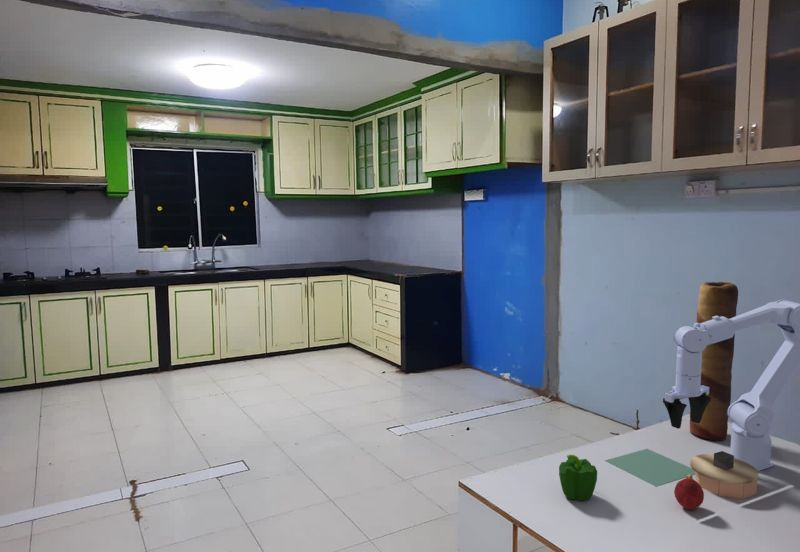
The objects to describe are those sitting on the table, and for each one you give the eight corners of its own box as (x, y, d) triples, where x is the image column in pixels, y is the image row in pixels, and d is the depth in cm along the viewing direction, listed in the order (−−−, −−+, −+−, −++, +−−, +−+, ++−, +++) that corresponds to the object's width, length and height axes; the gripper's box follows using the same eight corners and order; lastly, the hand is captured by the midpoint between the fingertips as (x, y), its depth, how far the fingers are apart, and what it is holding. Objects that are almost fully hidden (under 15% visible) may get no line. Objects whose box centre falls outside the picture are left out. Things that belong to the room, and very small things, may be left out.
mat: (647, 450, 155) (647, 448, 155) (700, 473, 141) (700, 472, 141) (604, 462, 148) (604, 460, 148) (656, 488, 134) (656, 486, 134)
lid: (714, 453, 144) (715, 438, 143) (771, 475, 131) (772, 459, 131) (677, 464, 138) (678, 449, 137) (732, 489, 125) (733, 472, 125)
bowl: (717, 471, 142) (717, 456, 142) (765, 492, 132) (766, 475, 131) (685, 481, 137) (685, 466, 137) (733, 504, 126) (734, 487, 126)
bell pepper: (596, 490, 134) (597, 449, 132) (596, 507, 126) (597, 464, 125) (559, 485, 136) (560, 445, 135) (557, 501, 129) (558, 459, 127)
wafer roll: (739, 440, 161) (748, 284, 156) (706, 443, 159) (714, 285, 154) (712, 427, 172) (720, 280, 167) (681, 429, 170) (688, 281, 165)
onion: (706, 518, 121) (708, 482, 120) (677, 515, 122) (679, 480, 121) (698, 504, 127) (700, 470, 126) (670, 502, 128) (672, 468, 127)
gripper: (693, 366, 151) (690, 415, 153) (655, 373, 145) (653, 424, 147) (717, 372, 145) (714, 423, 147) (679, 380, 139) (677, 433, 140)
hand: (685, 424), depth 146 cm, fingers open, 7 cm apart
